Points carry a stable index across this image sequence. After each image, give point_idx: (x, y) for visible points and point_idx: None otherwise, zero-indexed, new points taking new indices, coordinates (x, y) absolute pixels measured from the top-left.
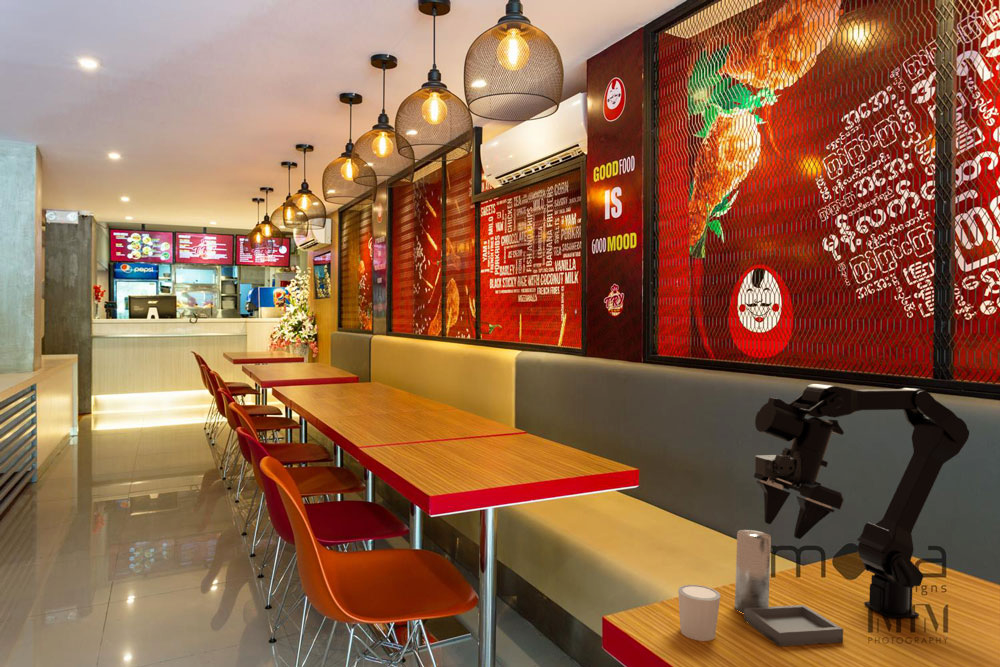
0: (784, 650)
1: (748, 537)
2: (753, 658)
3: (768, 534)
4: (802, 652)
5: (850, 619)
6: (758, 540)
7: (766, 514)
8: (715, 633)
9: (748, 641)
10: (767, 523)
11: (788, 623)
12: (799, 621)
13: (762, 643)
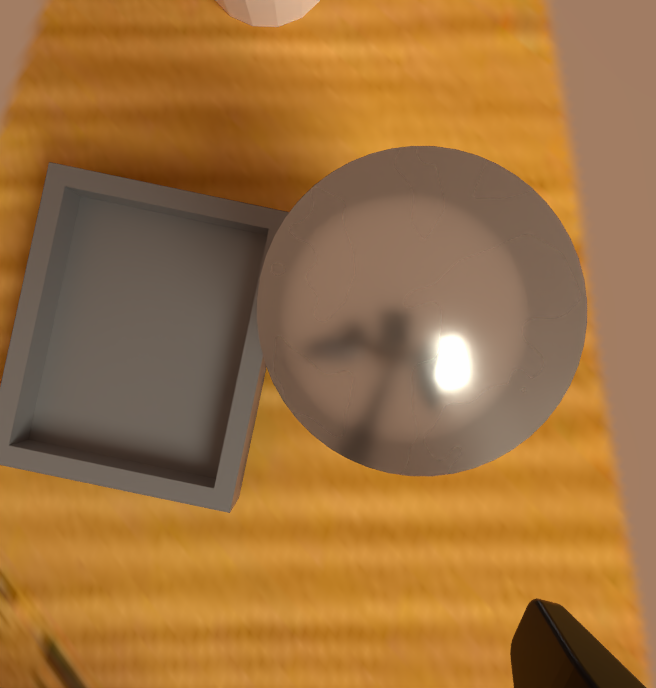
0: (45, 175)
1: (353, 167)
2: (39, 17)
3: (377, 469)
4: (11, 228)
5: (156, 676)
6: (278, 230)
7: (590, 670)
8: (223, 6)
9: (147, 101)
10: (525, 615)
11: (175, 345)
12: (174, 407)
13: (116, 140)
